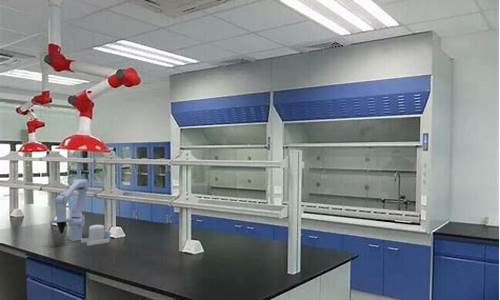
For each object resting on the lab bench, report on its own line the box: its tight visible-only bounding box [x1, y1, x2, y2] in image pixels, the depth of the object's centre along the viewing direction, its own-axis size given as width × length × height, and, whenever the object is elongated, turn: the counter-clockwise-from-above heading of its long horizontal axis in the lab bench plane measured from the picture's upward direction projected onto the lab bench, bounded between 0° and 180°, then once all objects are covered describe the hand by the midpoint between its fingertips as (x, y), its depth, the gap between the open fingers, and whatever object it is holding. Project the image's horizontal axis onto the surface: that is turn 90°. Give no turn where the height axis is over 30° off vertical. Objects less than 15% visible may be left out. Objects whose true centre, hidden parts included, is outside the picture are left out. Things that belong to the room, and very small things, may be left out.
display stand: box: [80, 229, 112, 246], centre depth 269 cm, size 12×16×7 cm
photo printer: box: [88, 224, 105, 241], centre depth 269 cm, size 10×4×12 cm, turn 120°
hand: (61, 233), depth 259 cm, fingers closed
